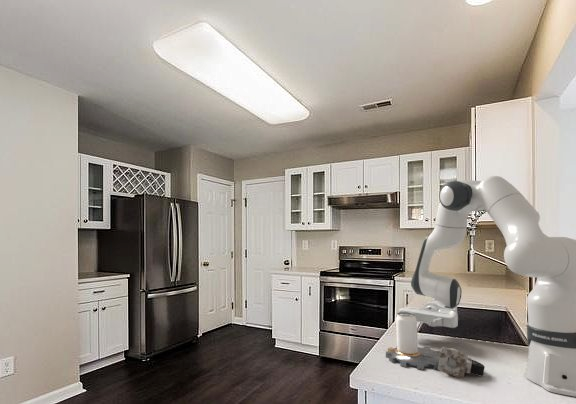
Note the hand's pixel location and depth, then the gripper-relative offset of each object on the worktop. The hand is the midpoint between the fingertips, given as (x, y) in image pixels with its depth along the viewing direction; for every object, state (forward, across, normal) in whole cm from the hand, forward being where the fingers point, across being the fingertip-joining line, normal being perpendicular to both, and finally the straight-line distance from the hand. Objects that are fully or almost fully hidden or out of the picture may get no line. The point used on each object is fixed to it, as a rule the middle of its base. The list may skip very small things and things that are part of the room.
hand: (418, 320), depth 122 cm
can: (+10, 0, +8) cm, 13 cm away
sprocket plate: (+10, +3, +10) cm, 14 cm away
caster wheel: (+12, +17, +10) cm, 23 cm away
